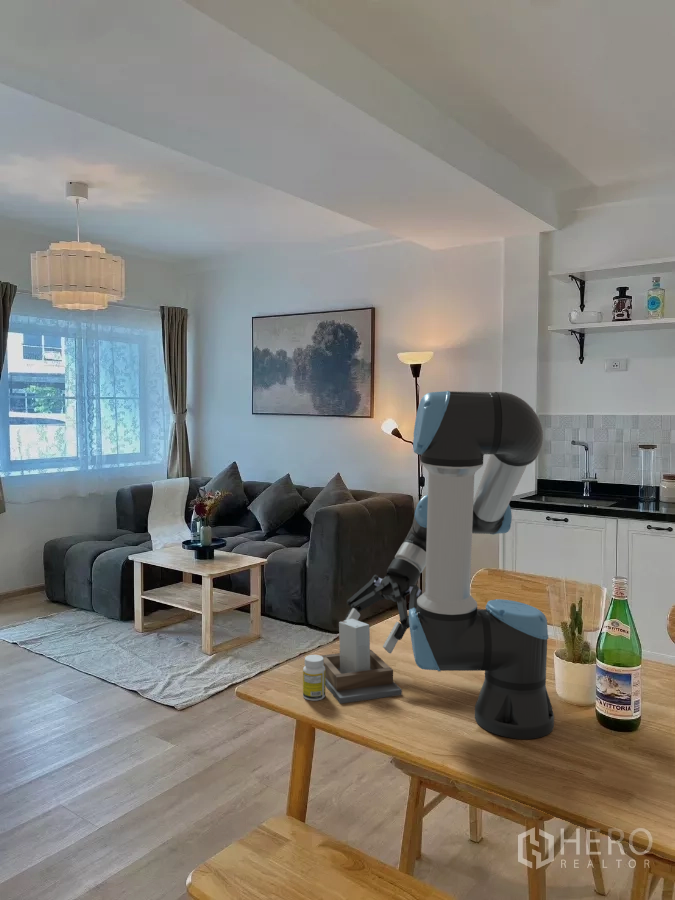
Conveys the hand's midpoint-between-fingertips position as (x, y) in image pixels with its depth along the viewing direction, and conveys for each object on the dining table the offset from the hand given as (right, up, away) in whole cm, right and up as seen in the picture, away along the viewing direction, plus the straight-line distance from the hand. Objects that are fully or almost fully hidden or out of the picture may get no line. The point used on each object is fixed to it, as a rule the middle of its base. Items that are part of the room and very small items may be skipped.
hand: (364, 642), depth 158 cm
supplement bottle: (-11, -9, -10) cm, 18 cm away
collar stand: (-2, -8, -2) cm, 9 cm away
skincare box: (-2, -7, -2) cm, 8 cm away
